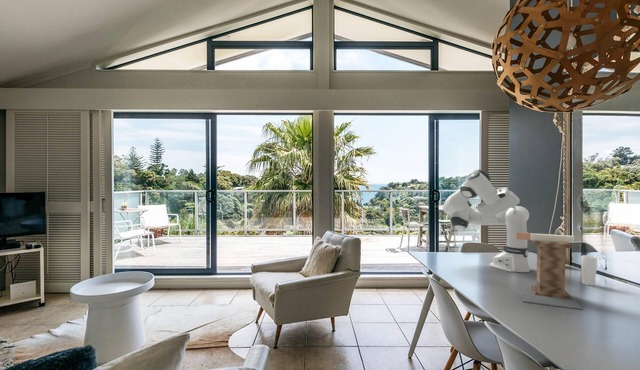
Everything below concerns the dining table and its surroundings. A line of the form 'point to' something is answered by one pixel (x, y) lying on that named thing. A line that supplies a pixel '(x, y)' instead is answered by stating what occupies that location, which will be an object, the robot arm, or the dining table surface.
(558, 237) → the white stick tan end
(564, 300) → the mat
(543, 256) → the walnut stand
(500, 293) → the dining table surface
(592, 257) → the drinking glass
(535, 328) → the dining table surface
